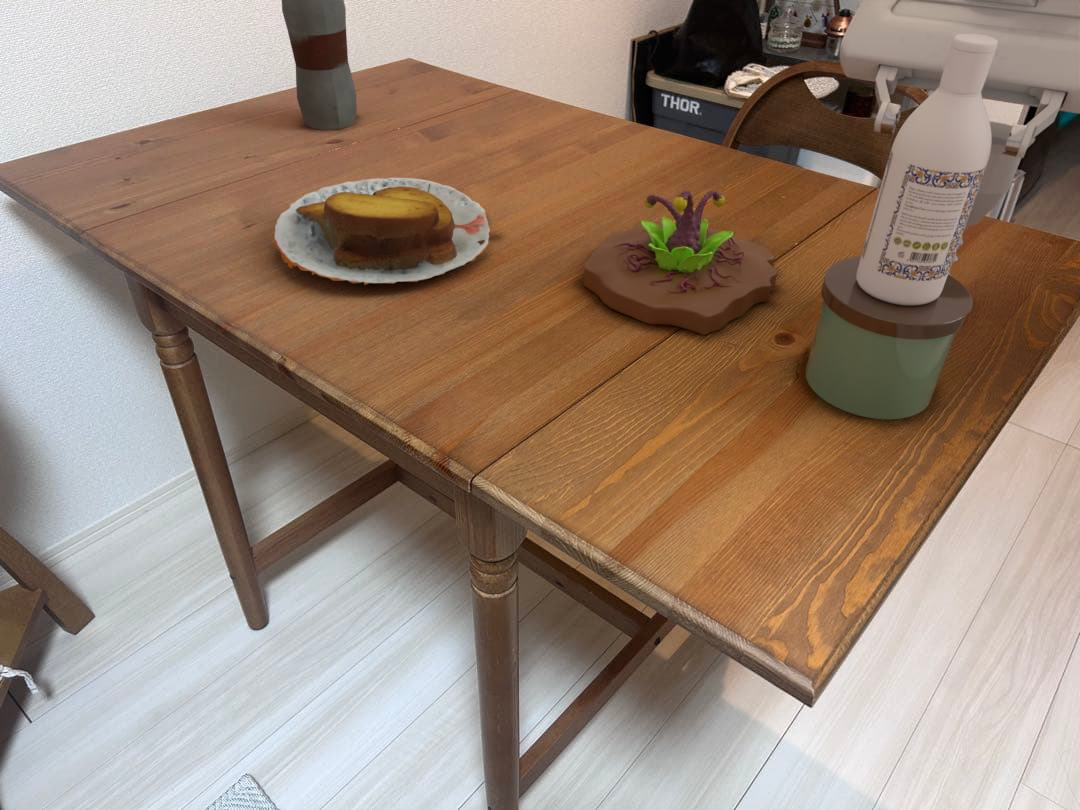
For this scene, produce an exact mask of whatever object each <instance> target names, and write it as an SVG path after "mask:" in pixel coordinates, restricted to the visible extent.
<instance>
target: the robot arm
mask: <svg viewBox="0 0 1080 810" xmlns="http://www.w3.org/2000/svg"><path fill="white" fill-rule="evenodd" d="M856 8H857V9H856V11H855V13H854V15H853V17H852V18H851V20H850V23H849V24H848V26H847V28H846V30H845V32H844V35H843V37H842V40H841V42H840V46H839V63H840V64H839V65H840V66H841V70H842V72H843V74H844V75H845V76H846V77H847V78H849V79H853V80H860V81H866V82H873V83H875V87H874V89H875V90H874V94H875V98H876V102H877V106H878V112H877V114H876V116H875V120H874V125H873V132H876V133H882V134H887V135H894V133H895V131H896V127H897V125H898V124H899V121H900V118H901V110H902V104H898V103H892V101H891V98H890V97H891V96H892V95H894V93H895V91H896V88H897V87H898V86H900V87H906V88H912V89H919V90H924V91H931V92H934V91H935V90H936V89H937V88H938V87H939V86H940V81H941V77H942V74H943V70H944V67H945V64H946V60H947V57H948V54H949V50H950V47H951V44H952V41H953V38H954V37H955V36H956V35H958V34H980V35H986V36H990V37H993V38H995V39H996V40H997V41H998V44H997V48H996V50H995V54H994V57H993V60H992V63H991V66H990V69H989V71H988V74H987V77H986V80H985V83H984V86H983V88H982V91H981V95H982V98H983V100H990V101H995V102H1002V103H1009V104H1013V105H1014V104H1015V105H1020V106H1021V105H1022V106H1028V107H1034V108H1037V109H1036V111H1035V114H1034V117H1032V119H1031V120H1029V121H1028V122H1027V123H1026V124H1020V123H1013V124H1012V126H1013V127H1012V129H1011V132H1010V135H1009V137H1008V140H1007V143H1006V145H1005V148H1004V151H1003V154H1004V155H1009V156H1014V157H1019V158H1021V159H1024V157H1025V155H1026V152H1027V150H1028V148H1029V147H1028V145H1029V142H1030V140H1031V139H1033V138H1036V137H1037V136H1038V135H1039V134H1040V133H1042V132H1043V131H1044V130H1045V129H1047V128H1048V127H1050V126H1051V125H1052V124H1053V123H1054V122H1055V121H1056V118H1057V116H1058V113H1059V112H1067V113H1074V114H1079V115H1080V0H856Z"/></svg>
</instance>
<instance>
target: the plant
mask: <svg viewBox="0 0 1080 810" xmlns="http://www.w3.org/2000/svg"><path fill="white" fill-rule="evenodd" d="M711 198H712V203H713V205H714V206H715V207H718V208H721V207H722V206H723V205H725V202H726V199H725V196H724V195H722V193H721V192H720V191H716V190H715V191H714V190H710V191H707V192H706V194H705V195H703V197H701V199H700V201H699V202H698V204H697V205H696V207H695V210H694V204H695V203H694V201H693V199H694V196H693V195H692V193H691V191H690V190H683V191H682V192H680V193H679V194H677V195H676V196H675V198H674V199H673V201H672V202H671V201H669V199H666V198H664V197H662V196H658V195H655V194H648V195H647V196H646V197H645V198H644V200H643V201H644V205H645V207H646V208H647V209H653V208H654V207H656V205H657V202H658V203H660V204H661V205H662V206H664V207H665V208H666V209H667V211H668V212H670V215H671V216H672V217H673V219H674V221H673V220H672V219H671V218H670V217H668V216H662V219H661V221H655V222H653V221H649V220H644V219H641V222H636V223H635V225H634V226H633V227H632V228H630V229H626V230H622V231H619V232H614V233H611V234H609V235H608V236H606V238H605V239H604V241H602V243H601V244H600V245H598V247H597V248H596V249H595V250H594V251H593V252H592V253H591V254H590V255H589V257H588V258H587V260H586V262H585V264H584V266H583V275H582V276H583V279H582V284H583V286H584V287H585V288H587V289H588V290H589V291H591V292H592V293H594V294H595V295H596V296H597V297H599V298H600V300H601V302H602V303H603V304H604V305H606V306H607V307H609V308H610V309H612V310H614V311H616V312H618V313H620V314H623V315H626V316H628V317H631V318H632V319H636V320H638V321H640V322H642V323H645V324H648V325H667V326H668V325H669V326H674V327H679V328H682V329H685V330H688V331H691V332H693V333H696V334H697V333H698V334H700V335H702V336H706V335H708V334H711V333H713V332H717V331H719V330H721V329H722V328H723V327H725V325H727V324H728V323H729V322H731V321H733V320H735V319H738V318H740V317H742V316H743V315H744V314H746V313H747V312H748V311H749V310H750V308H752V306H755V305H757V304H759V303H760V304H761V303H766V302H769V300H770V296H771V292H773V291H774V289H775V286H776V281H777V277H778V270H777V269H776V268H775V267H774V263H775V256H774V255H773V254H772V253H771V252H770V251H769V250H767V249H766V248H765V247H764V246H762V245H760V244H757V243H755V242H751V241H749V240H747V239H743V238H739V237H737V236H734V231H729V230H723V231H721V230H718V229H714V228H711V227H710V228H709V222H708V219H702V217H703V213H704V210H705V207H706V204H707V202H708V201H709V199H711ZM682 211H683V214H682V213H681V212H682Z"/></svg>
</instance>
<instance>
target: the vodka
mask: <svg viewBox="0 0 1080 810" xmlns="http://www.w3.org/2000/svg"><path fill="white" fill-rule="evenodd" d="M346 10H347V9H346V5H345V0H281V12H282V15H283V16H282V17H283V19H284V23H285V26H286V30H287V34H288V38H289V41H290V42H289V44H290V46H291V47H290V48H291V51H292V55H293V59H294V63H295V85H296V86H295V87H296V99H297V103H298V107H299V110H300V114H301V116H302V118H303V121H304V123H305V124H306V126H307V127H309V128H310V129H313V130H321V131H333V130H340V129H344V128H348V127H350V126H353V124H355V122H356V117H357V111H358V110H357V105H358V104H357V91H356V87H355V83H354V78H353V75H352V70H351V67H350V63H349V53H348V38H347V13H346V12H347V11H346Z"/></svg>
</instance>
